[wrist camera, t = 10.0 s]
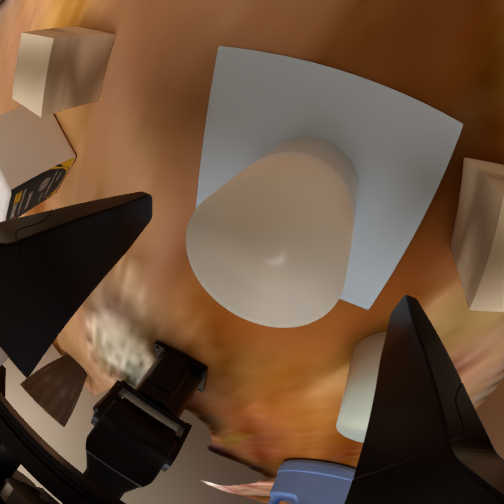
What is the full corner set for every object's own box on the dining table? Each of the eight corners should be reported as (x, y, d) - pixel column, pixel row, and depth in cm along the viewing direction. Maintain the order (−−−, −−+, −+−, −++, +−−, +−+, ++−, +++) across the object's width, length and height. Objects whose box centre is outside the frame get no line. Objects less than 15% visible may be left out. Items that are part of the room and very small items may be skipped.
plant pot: (71, 368, 65) (41, 405, 53) (48, 334, 57) (11, 375, 45) (106, 392, 61) (73, 435, 49) (81, 359, 52) (41, 408, 40)
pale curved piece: (399, 385, 20) (392, 449, 15) (339, 365, 21) (322, 431, 16) (443, 345, 16) (446, 419, 12) (375, 320, 17) (365, 399, 13)
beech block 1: (99, 100, 16) (41, 117, 12) (64, 83, 16) (12, 98, 12) (117, 34, 13) (53, 38, 9) (77, 26, 13) (22, 32, 9)
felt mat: (368, 305, 17) (368, 309, 16) (196, 236, 19) (192, 239, 19) (460, 122, 9) (463, 124, 9) (222, 46, 12) (218, 45, 11)
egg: (338, 243, 15) (310, 346, 10) (252, 210, 16) (183, 291, 10) (372, 158, 12) (375, 228, 6) (271, 123, 13) (191, 162, 7)
